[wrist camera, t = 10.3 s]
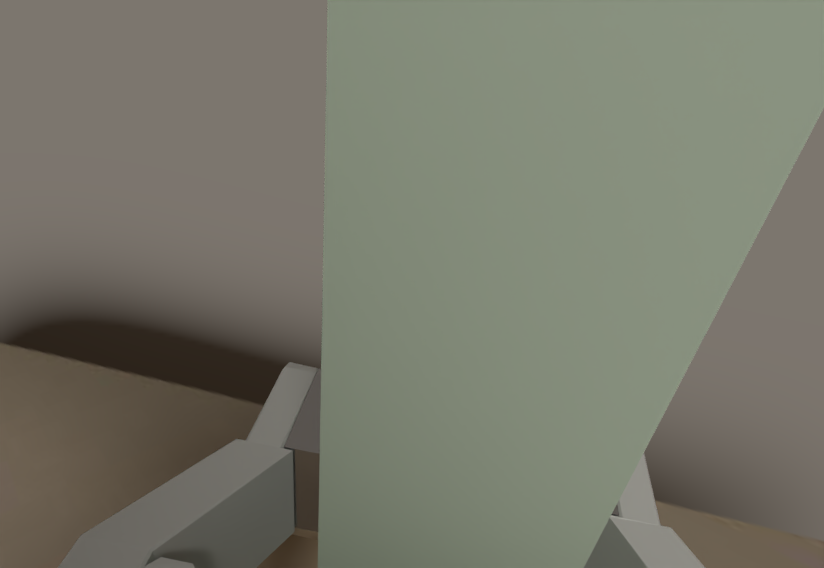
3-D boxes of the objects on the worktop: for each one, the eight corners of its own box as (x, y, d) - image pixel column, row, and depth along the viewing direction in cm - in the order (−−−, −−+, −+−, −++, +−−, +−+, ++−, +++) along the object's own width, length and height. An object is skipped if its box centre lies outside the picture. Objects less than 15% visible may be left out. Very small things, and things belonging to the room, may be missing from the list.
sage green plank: (312, 847, 12) (338, -539, 2) (365, 607, 16) (465, -235, 6) (423, 875, 12) (1135, -485, 2) (448, 626, 16) (699, -208, 6)
